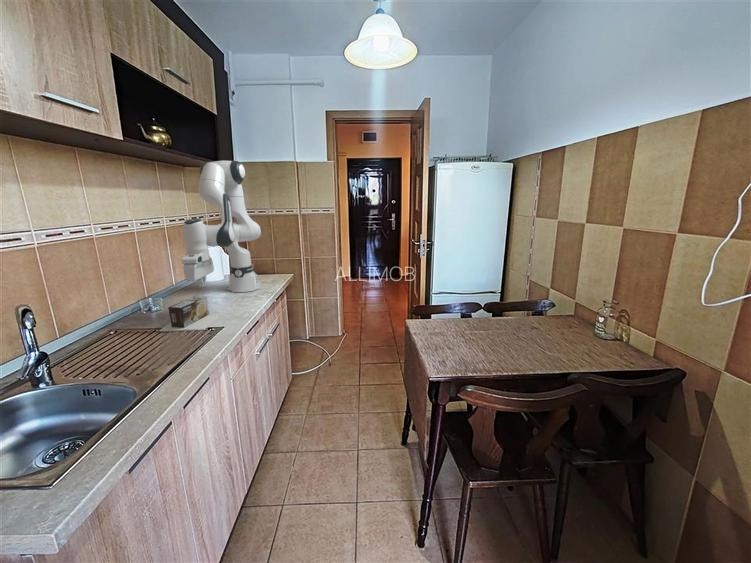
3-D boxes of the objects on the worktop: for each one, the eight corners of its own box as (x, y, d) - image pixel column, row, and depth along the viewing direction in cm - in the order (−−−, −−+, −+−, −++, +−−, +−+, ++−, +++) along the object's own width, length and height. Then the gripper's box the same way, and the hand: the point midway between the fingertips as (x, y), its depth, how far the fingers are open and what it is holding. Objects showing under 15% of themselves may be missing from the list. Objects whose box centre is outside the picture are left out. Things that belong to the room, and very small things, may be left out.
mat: (180, 317, 153) (179, 316, 153) (220, 316, 154) (219, 315, 154) (159, 331, 138) (159, 330, 138) (204, 330, 138) (204, 329, 138)
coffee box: (194, 295, 154) (167, 306, 138) (207, 295, 152) (180, 307, 137) (197, 314, 156) (171, 327, 141) (209, 314, 155) (184, 328, 139)
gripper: (201, 252, 159) (205, 280, 162) (179, 260, 139) (184, 292, 143) (215, 252, 159) (219, 280, 163) (194, 260, 139) (199, 292, 143)
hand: (202, 286), depth 152 cm, fingers closed
